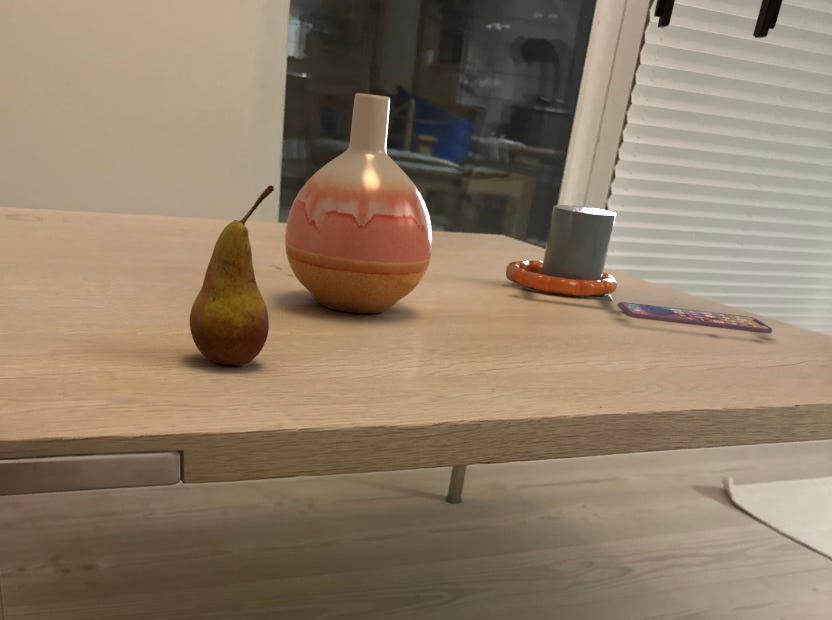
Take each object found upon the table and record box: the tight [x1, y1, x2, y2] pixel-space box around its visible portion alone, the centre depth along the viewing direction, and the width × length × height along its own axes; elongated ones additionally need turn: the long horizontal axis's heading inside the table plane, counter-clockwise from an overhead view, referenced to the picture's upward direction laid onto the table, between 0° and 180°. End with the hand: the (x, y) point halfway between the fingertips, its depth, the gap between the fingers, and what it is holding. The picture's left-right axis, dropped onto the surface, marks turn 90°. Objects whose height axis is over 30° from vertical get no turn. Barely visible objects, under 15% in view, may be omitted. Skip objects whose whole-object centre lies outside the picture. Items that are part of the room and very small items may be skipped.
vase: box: [284, 92, 433, 314], centre depth 84 cm, size 14×14×18 cm
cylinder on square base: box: [526, 204, 617, 302], centre depth 103 cm, size 9×9×9 cm
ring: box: [505, 259, 618, 296], centre depth 105 cm, size 12×12×2 cm
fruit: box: [189, 185, 275, 366], centre depth 65 cm, size 6×6×12 cm
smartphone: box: [617, 301, 773, 334], centre depth 97 cm, size 1×7×15 cm
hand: (711, 32), depth 93 cm, fingers open, 9 cm apart
